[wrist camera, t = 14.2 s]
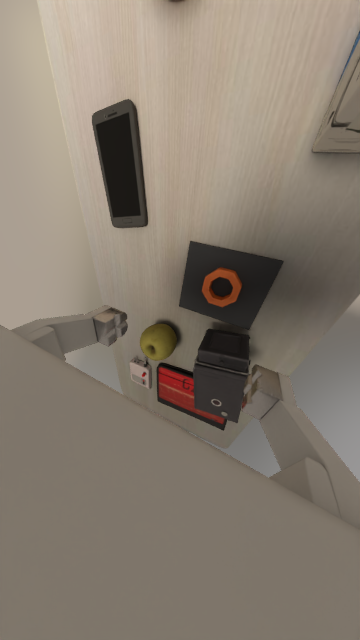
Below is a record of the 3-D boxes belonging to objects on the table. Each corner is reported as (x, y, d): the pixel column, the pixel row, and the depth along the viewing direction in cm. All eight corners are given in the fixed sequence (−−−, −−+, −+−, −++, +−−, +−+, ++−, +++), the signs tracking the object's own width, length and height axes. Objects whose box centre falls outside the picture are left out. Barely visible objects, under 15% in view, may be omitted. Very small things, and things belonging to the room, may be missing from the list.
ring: (246, 273, 23) (245, 276, 22) (233, 306, 26) (232, 310, 25) (210, 264, 25) (207, 266, 23) (202, 296, 28) (199, 300, 26)
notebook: (223, 432, 41) (156, 402, 48) (225, 423, 43) (160, 396, 50) (236, 392, 34) (154, 364, 41) (236, 384, 36) (159, 359, 43)
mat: (283, 260, 21) (283, 261, 21) (249, 329, 28) (249, 330, 27) (190, 241, 25) (190, 241, 24) (179, 305, 31) (178, 306, 31)
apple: (186, 327, 33) (172, 346, 27) (176, 351, 38) (162, 372, 32) (156, 312, 34) (137, 327, 29) (150, 337, 39) (133, 354, 33)
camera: (248, 377, 34) (261, 322, 26) (247, 433, 25) (264, 377, 17) (202, 366, 38) (200, 315, 30) (187, 411, 29) (178, 357, 21)
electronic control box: (135, 382, 53) (129, 389, 50) (132, 348, 45) (125, 355, 42) (151, 390, 51) (146, 397, 48) (151, 356, 43) (145, 363, 40)
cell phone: (115, 228, 29) (112, 227, 28) (94, 116, 22) (89, 113, 21) (148, 226, 26) (145, 226, 26) (135, 99, 19) (131, 95, 19)
